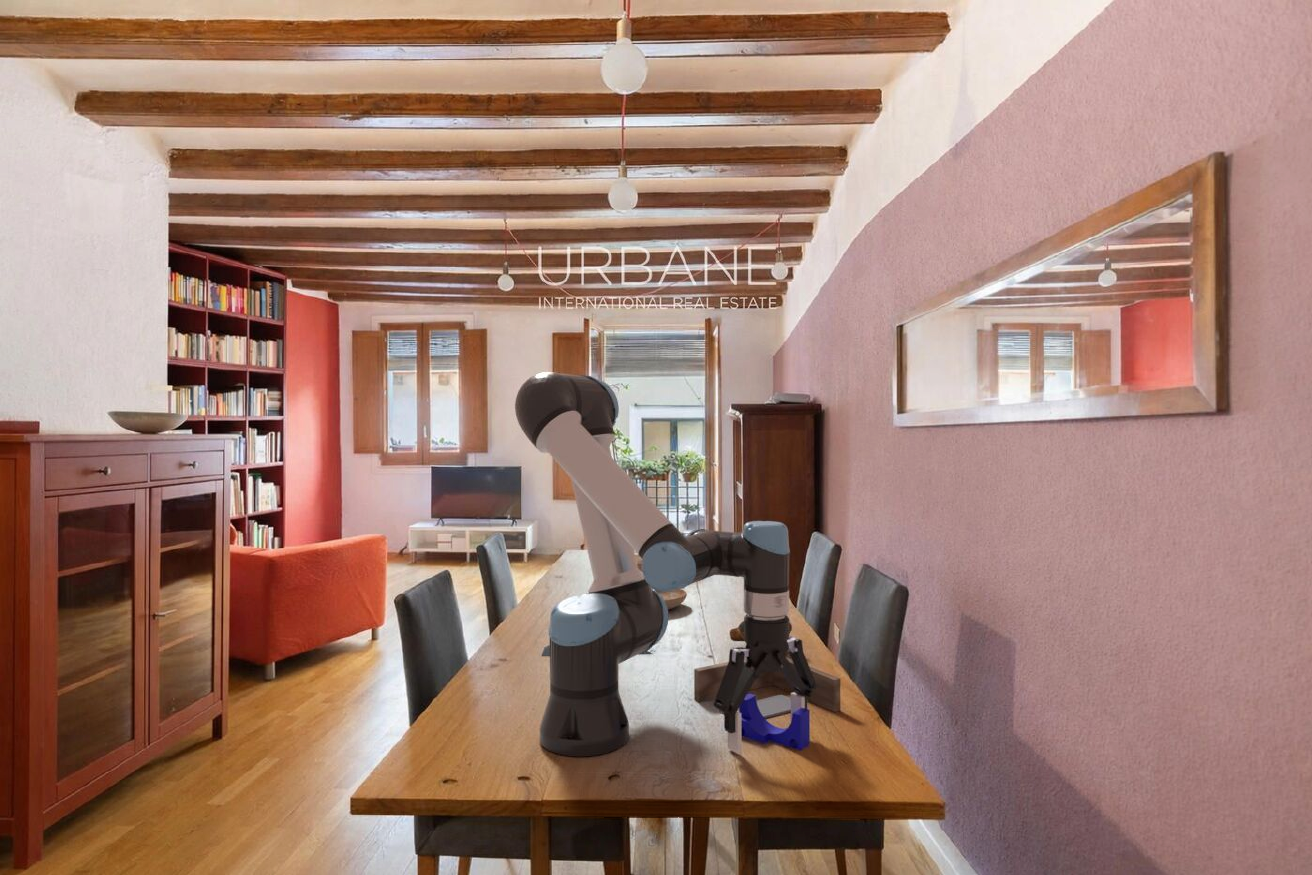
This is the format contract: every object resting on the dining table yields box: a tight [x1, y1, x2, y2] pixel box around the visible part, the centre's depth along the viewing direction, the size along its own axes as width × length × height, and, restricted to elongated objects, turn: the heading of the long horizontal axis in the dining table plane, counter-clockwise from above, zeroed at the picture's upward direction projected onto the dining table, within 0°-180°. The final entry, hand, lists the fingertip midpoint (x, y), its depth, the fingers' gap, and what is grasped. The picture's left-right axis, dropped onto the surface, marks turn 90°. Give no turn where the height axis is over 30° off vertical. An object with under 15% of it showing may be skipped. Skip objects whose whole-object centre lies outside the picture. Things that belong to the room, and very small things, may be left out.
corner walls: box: [693, 657, 841, 713], centre depth 141 cm, size 20×19×6 cm
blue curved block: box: [739, 693, 811, 751], centre depth 125 cm, size 12×4×6 cm, turn 50°
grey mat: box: [718, 693, 791, 719], centre depth 138 cm, size 15×7×1 cm, turn 121°
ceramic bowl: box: [651, 587, 688, 611], centre depth 218 cm, size 23×24×5 cm
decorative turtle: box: [729, 620, 793, 643], centre depth 176 cm, size 10×15×8 cm, turn 73°
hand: (767, 741), depth 123 cm, fingers open, 13 cm apart
